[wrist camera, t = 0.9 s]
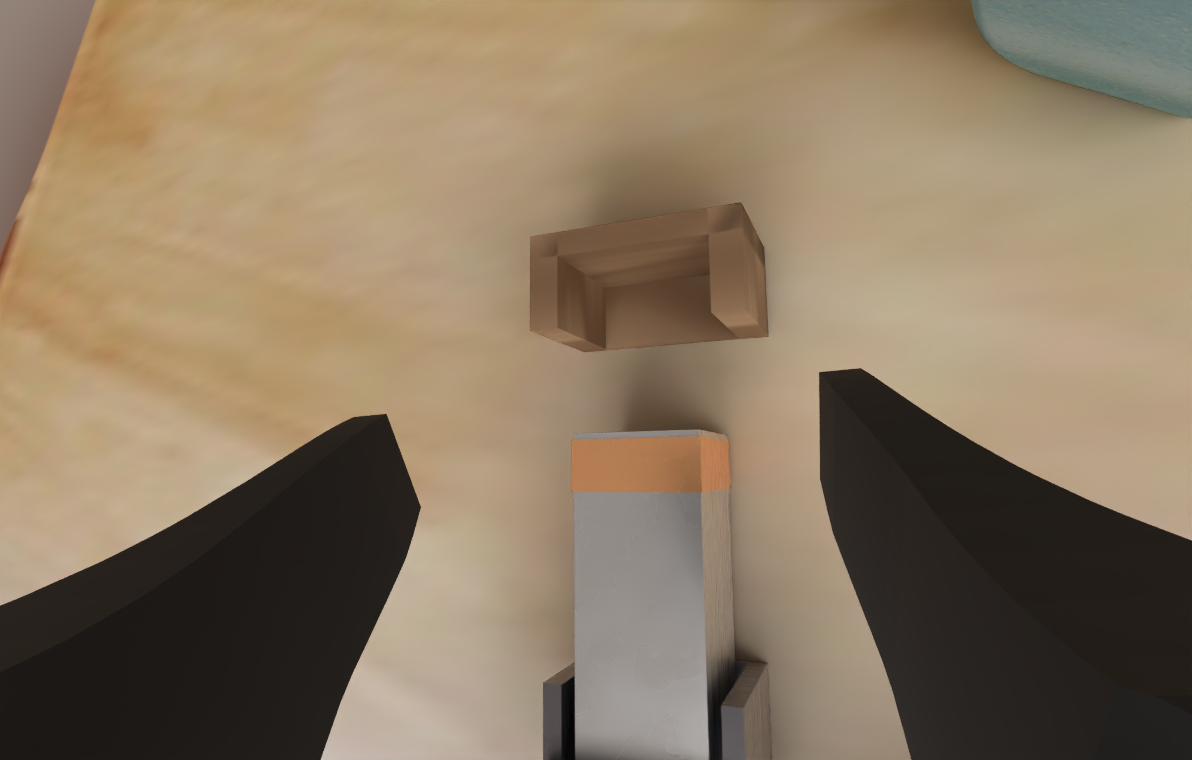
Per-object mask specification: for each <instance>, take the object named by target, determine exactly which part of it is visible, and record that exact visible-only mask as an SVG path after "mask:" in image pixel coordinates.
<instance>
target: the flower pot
mask: <svg viewBox="0 0 1192 760" xmlns="http://www.w3.org/2000/svg"><path fill="white" fill-rule="evenodd" d="M971 3H972V10H973V15H974V18H975V21H976V24H977V26H978V29H979V31H980V33H981V34H982V36H983V38H984V39H985V40H986V41H987V43H988V44H989V45H990V46H991V47H992V48H993V49H994V50H995V51H996V52H997V53H998V54H1000V55H1001V56H1002V57H1004V58H1005V59H1006V60H1008V61H1010V62H1012V63H1013V64H1015V65H1017V66H1019V67H1021V68H1023V69H1025V70H1028V71H1030V72H1032V73H1034V74H1037V75H1041V76H1045V77H1048V78H1052V79H1055V80H1058V81H1062V82H1065V83H1069V84H1072V85H1076V86H1079V87H1083V88H1086V89H1090V90H1093V91H1097V92H1100V93H1104V94H1107V95H1111V96H1114V97H1118V98H1121V99H1125V100H1128V101H1131V102H1134V103H1138V104H1141V105H1144V106H1147V107H1151V108H1154V109H1157V110H1160V111H1164V112H1167V113H1170V114H1173V115H1176V116H1180V117H1185V118H1190V119H1192V0H971Z"/></svg>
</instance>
